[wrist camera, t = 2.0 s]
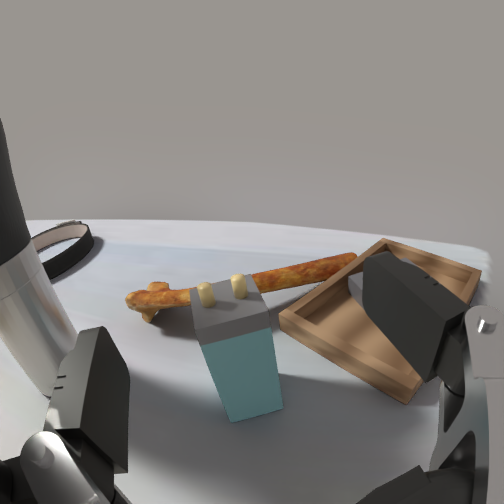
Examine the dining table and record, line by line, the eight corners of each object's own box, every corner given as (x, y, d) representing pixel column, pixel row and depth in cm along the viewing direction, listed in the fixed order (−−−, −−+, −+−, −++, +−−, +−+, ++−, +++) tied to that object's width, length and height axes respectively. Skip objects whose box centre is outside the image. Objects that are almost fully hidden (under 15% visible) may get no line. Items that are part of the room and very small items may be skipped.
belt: (111, 227, 81) (106, 210, 79) (65, 284, 54) (55, 263, 52) (38, 244, 82) (33, 230, 79) (-13, 296, 55) (-21, 279, 53)
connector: (230, 423, 25) (188, 312, 19) (221, 384, 29) (184, 273, 23) (283, 408, 26) (265, 291, 19) (268, 371, 30) (247, 257, 24)
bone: (350, 259, 48) (364, 218, 40) (366, 306, 43) (386, 270, 35) (144, 291, 47) (119, 254, 39) (143, 340, 42) (113, 311, 34)
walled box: (280, 329, 35) (278, 313, 34) (382, 251, 47) (382, 237, 46) (406, 405, 23) (412, 389, 22) (477, 286, 34) (481, 270, 33)
